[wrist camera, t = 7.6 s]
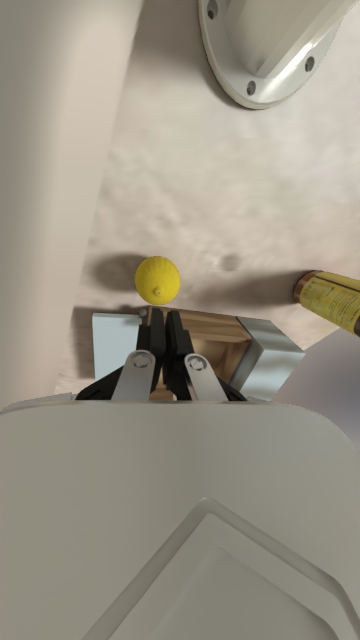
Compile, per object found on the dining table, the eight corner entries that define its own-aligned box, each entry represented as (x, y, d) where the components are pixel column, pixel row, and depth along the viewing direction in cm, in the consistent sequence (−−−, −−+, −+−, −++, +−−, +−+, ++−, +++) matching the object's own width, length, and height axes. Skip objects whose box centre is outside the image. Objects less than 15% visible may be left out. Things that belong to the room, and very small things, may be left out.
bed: (139, 302, 26) (134, 337, 19) (270, 319, 32) (307, 352, 24) (131, 378, 35) (125, 424, 27) (235, 381, 40) (255, 420, 33)
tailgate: (141, 313, 26) (93, 310, 24) (142, 318, 25) (92, 316, 22) (133, 381, 33) (97, 384, 31) (133, 388, 32) (95, 391, 30)
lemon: (130, 276, 24) (121, 300, 17) (150, 242, 22) (149, 253, 16) (162, 296, 26) (166, 323, 20) (183, 266, 24) (195, 285, 18)
